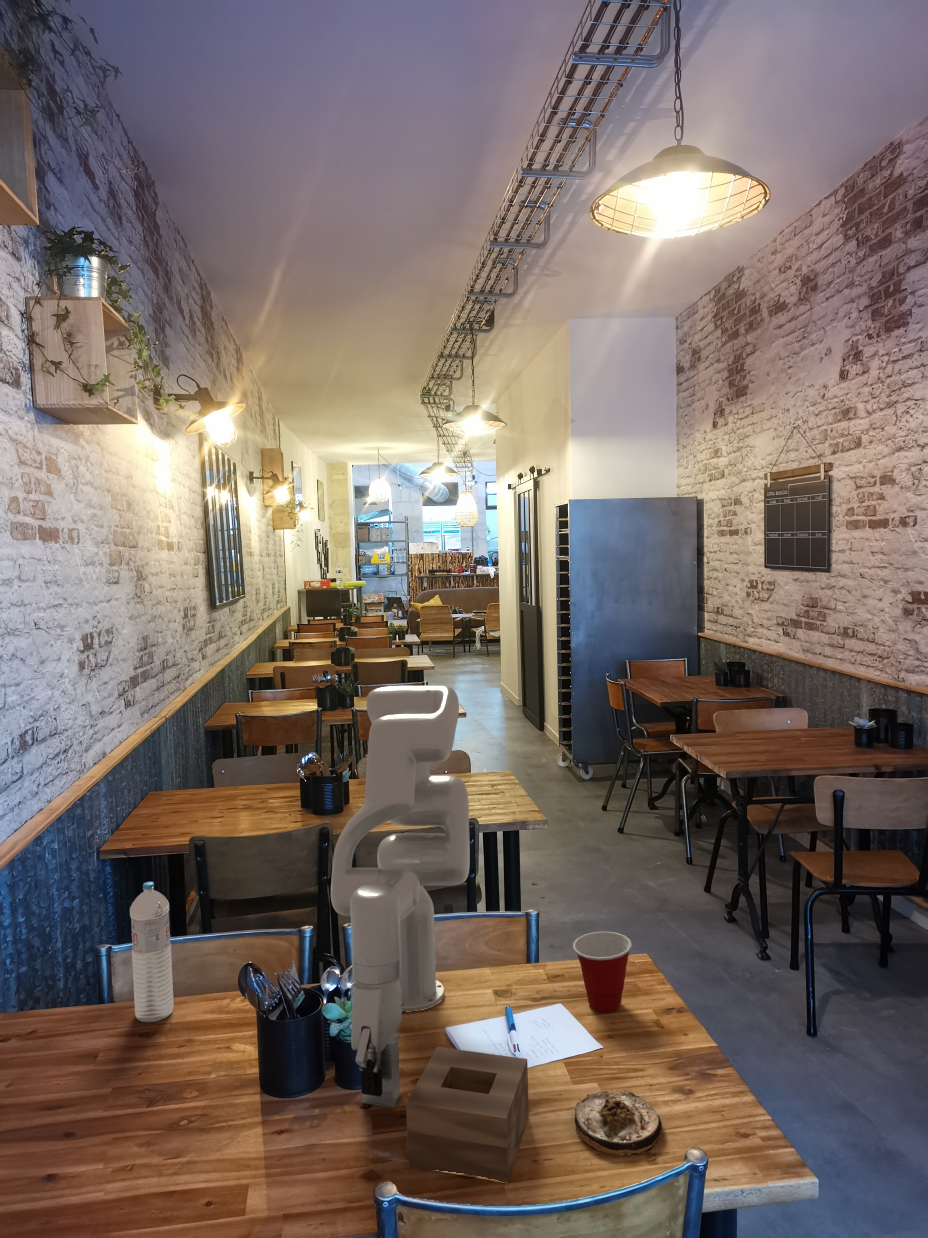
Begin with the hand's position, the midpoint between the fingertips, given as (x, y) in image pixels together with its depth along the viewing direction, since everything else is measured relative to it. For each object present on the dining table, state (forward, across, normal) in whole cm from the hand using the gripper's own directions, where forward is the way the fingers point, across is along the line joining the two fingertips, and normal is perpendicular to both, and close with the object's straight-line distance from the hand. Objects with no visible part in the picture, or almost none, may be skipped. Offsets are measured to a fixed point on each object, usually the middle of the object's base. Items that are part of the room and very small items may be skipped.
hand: (380, 1079), depth 130 cm
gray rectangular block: (+3, 0, 0) cm, 3 cm away
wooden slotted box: (+3, +6, +16) cm, 17 cm away
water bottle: (+3, -14, -51) cm, 53 cm away
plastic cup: (+3, -36, +30) cm, 47 cm away
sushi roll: (+4, -2, +36) cm, 36 cm away
